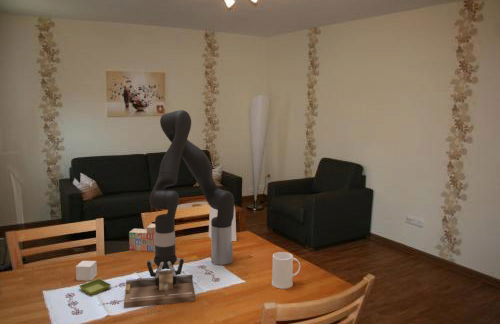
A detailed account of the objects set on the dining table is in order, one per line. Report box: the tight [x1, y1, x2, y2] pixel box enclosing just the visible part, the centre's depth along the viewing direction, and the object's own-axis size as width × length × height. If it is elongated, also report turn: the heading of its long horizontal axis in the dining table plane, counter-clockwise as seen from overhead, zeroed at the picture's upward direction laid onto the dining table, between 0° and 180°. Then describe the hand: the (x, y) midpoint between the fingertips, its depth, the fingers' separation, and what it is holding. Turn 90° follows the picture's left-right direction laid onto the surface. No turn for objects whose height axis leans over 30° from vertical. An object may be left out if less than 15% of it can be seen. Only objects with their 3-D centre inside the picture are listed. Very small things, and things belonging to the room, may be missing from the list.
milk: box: [208, 205, 237, 242], centre depth 211 cm, size 12×12×26 cm
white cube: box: [75, 260, 98, 282], centre depth 164 cm, size 6×6×6 cm
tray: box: [123, 274, 196, 309], centre depth 149 cm, size 25×13×4 cm, turn 103°
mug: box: [271, 251, 301, 290], centre depth 160 cm, size 12×8×12 cm
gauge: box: [159, 269, 173, 296], centre depth 149 cm, size 5×9×6 cm, turn 13°
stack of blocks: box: [128, 223, 176, 253], centre depth 196 cm, size 21×6×12 cm, turn 83°
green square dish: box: [78, 278, 112, 295], centre depth 154 cm, size 9×9×2 cm
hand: (165, 285), depth 151 cm, fingers closed on gauge, 5 cm apart
